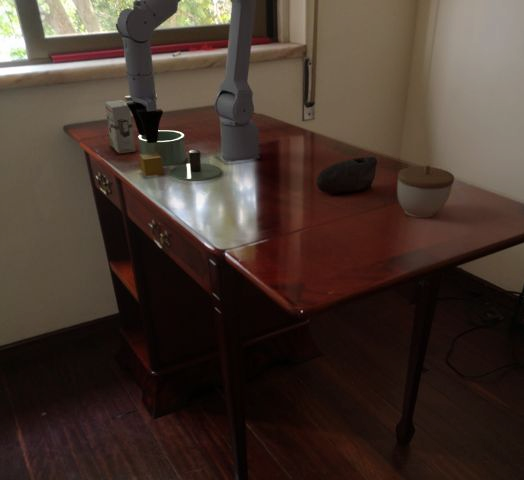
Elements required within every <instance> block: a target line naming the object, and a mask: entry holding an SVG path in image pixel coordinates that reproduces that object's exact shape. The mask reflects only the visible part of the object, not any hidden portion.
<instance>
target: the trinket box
mask: <svg viewBox="0 0 524 480" xmlns="http://www.w3.org/2000/svg"><path fill="white" fill-rule="evenodd" d="M454 181H455V176H454V175H453V173H451V172H449V171H448V170H444V169H443V168H438V167H432V166H431V165H427V164H426V165H424V166H408V167H405V168H402V169H400V170H399V171H398V173H397V182H396V183H397V185H396V197H397V201H398V204H399V205H400V206H401V208H402V209H403V210H404V211H403V212H404V213H405V215H408V216H410V217H413V218H418V219H419V218H423V219H425V218H431V217H433V216H435V214H437V213H438V212H439V211H440V210H442V208H444V206H446V204H447V202H448V199H449V197H450V195H451V191H452V188H453V184H454Z"/></svg>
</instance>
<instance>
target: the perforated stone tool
mask: <svg viewBox="0 0 524 480" xmlns="http://www.w3.org/2000/svg"><path fill="white" fill-rule="evenodd" d="M377 165H378V159H377V158H376V157H375V156H366V157H364V156H363V157H355V158H350V159H346V160H343V161H340V162H339V161H338V162H337V163H334V164H331V165H329V166H327V167H326V168H324V169H323V170H322V171H320V172H319V174H318V176H317V179H316V187H317V188H318V190H320V192H323V193H325V194H347V193H354V192H355V193H356V192H359V191H362V190H368V189H371V188H372V185H373V182H374V180H375V177H376V171H377V170H376V169H377Z"/></svg>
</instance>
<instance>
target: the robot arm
mask: <svg viewBox="0 0 524 480" xmlns="http://www.w3.org/2000/svg"><path fill="white" fill-rule="evenodd" d="M181 1H182V0H134V1H133V2H132V5H133V6H132V8H129V7H128V8H124V9H122V11H120V12H119V14H118V17H117V21H116V24H115V28H116V31H117V33H118V34H119V35H120V36H121V38H122V44H123V45H122V46H123V54H124V60H125V61H124V63H125V69H126V77H127V83H128V85H127V86H128V91H129V92H128V93H129V95H125V96H124V100H125V102H126V101H127V102H126V103H127V106H128V107H129V109H130V113H131V116H132V118H133V119H134V123H135V126H136V130H137V132H138V136H139V135H145V136H146V140H147V142H148V143H155V142H157V139H158V131H159V127H160V122H161V119H162V116H163V113H164V110H163V109H161V108H159V109H158V108H157V100H158V95H157V93H156V92H157V91H156V83H155V74H154V65H153V64H154V63H153V55H152V45H151V39H152V37H153V35H154V32H155V30H156V29H157V28H159V27H160V26H161V25H162V24H164V23H165V22H166V21H168V20H169V19H170V18H171V17H173V16H174V15H175V14H176V13H178V7H179V2H181ZM229 2H230V3H231V10H230V20H229V31H228V43H227V55H226V64H225V74H224V79H223V80H222V82H221V83H220V84H219V87H218V93H217V95H216V98H215V99H214V110H215V113H216V114H217V116H219V122H220V123H219V124H220V125H219V126H220V127H219V128H220V147H221V148H220V149H221V152H220V153H216V156H217V157H218V158H220V159H222V160H223V161H224V162H225V163H233V162H241V161H247V160H248V161H249V160H256V159H260V158H261V157H260V132H259V127H258V124H257V123H256V122H255V121H254V120H252V119H253V116H254V113H255V105H254V101H253V90H252V89H251V87H250V84H249V83H248V79H249V69H250V61H251V60H250V59H251V51H252V44H253V34H254V24H255V15H256V6H257V0H229Z"/></svg>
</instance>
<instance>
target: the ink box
mask: <svg viewBox="0 0 524 480" xmlns="http://www.w3.org/2000/svg"><path fill="white" fill-rule="evenodd" d="M127 103H128V102H126V101H124V100H123V99H117V100H109V101H104V105H105V106H104V107H105V114H106V121H107V128H108V134H109V140H110V146H111V148H113V150H115V151H116V153H118V154H126V153H134V152H136V144H135V137H134V129H133V121H132V113H131V111H130V109H129V107H128V106H127Z"/></svg>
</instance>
